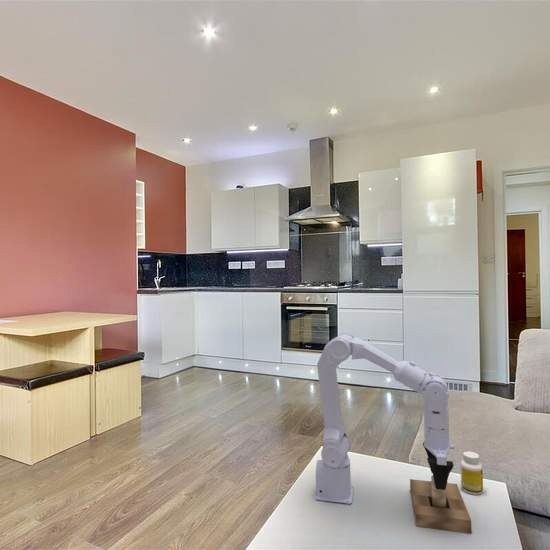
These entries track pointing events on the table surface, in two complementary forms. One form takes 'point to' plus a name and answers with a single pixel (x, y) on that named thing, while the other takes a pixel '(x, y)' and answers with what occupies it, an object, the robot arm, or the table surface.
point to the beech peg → (438, 496)
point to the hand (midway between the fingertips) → (438, 480)
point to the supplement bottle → (471, 474)
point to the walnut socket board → (435, 517)
